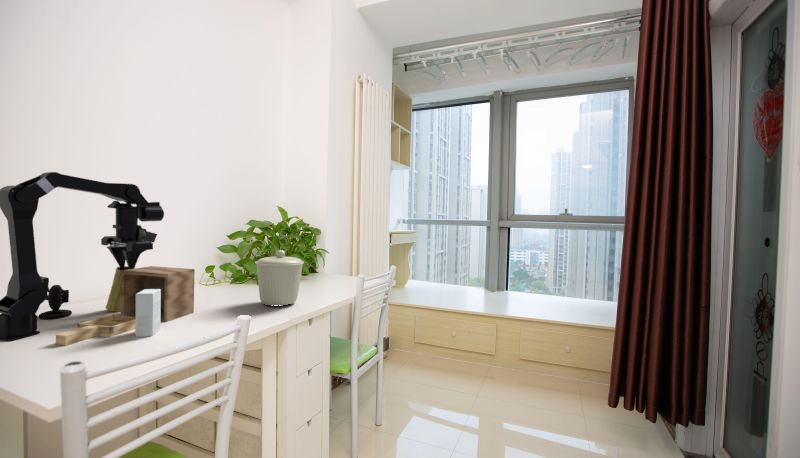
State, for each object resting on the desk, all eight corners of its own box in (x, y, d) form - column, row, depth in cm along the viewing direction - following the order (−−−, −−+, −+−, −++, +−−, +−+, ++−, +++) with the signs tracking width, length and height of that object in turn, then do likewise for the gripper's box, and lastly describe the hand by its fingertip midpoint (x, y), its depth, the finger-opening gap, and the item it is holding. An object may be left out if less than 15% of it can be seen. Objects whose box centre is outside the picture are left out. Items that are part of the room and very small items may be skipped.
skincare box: (143, 330, 99) (144, 289, 99) (160, 329, 100) (161, 288, 100) (134, 337, 93) (135, 293, 93) (152, 336, 95) (153, 293, 94)
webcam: (71, 317, 108) (71, 285, 108) (36, 321, 103) (37, 288, 103) (72, 311, 114) (73, 281, 113) (40, 315, 109) (40, 284, 109)
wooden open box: (166, 321, 107) (167, 274, 107) (120, 317, 110) (121, 270, 110) (193, 312, 118) (194, 269, 118) (150, 308, 121) (151, 266, 121)
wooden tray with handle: (78, 347, 85) (78, 337, 85) (42, 342, 87) (42, 332, 87) (144, 326, 103) (144, 317, 103) (113, 322, 105) (113, 314, 105)
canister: (279, 296, 147) (281, 247, 146) (312, 302, 138) (314, 250, 138) (243, 305, 130) (244, 249, 130) (278, 312, 122) (279, 253, 122)
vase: (132, 308, 120) (141, 270, 119) (116, 313, 114) (125, 273, 113) (117, 302, 121) (126, 264, 119) (100, 307, 115) (109, 267, 113)
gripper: (169, 223, 117) (169, 268, 118) (137, 219, 125) (137, 261, 126) (132, 225, 107) (133, 274, 108) (100, 219, 115) (100, 266, 116)
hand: (127, 268), depth 115 cm, fingers open, 5 cm apart
